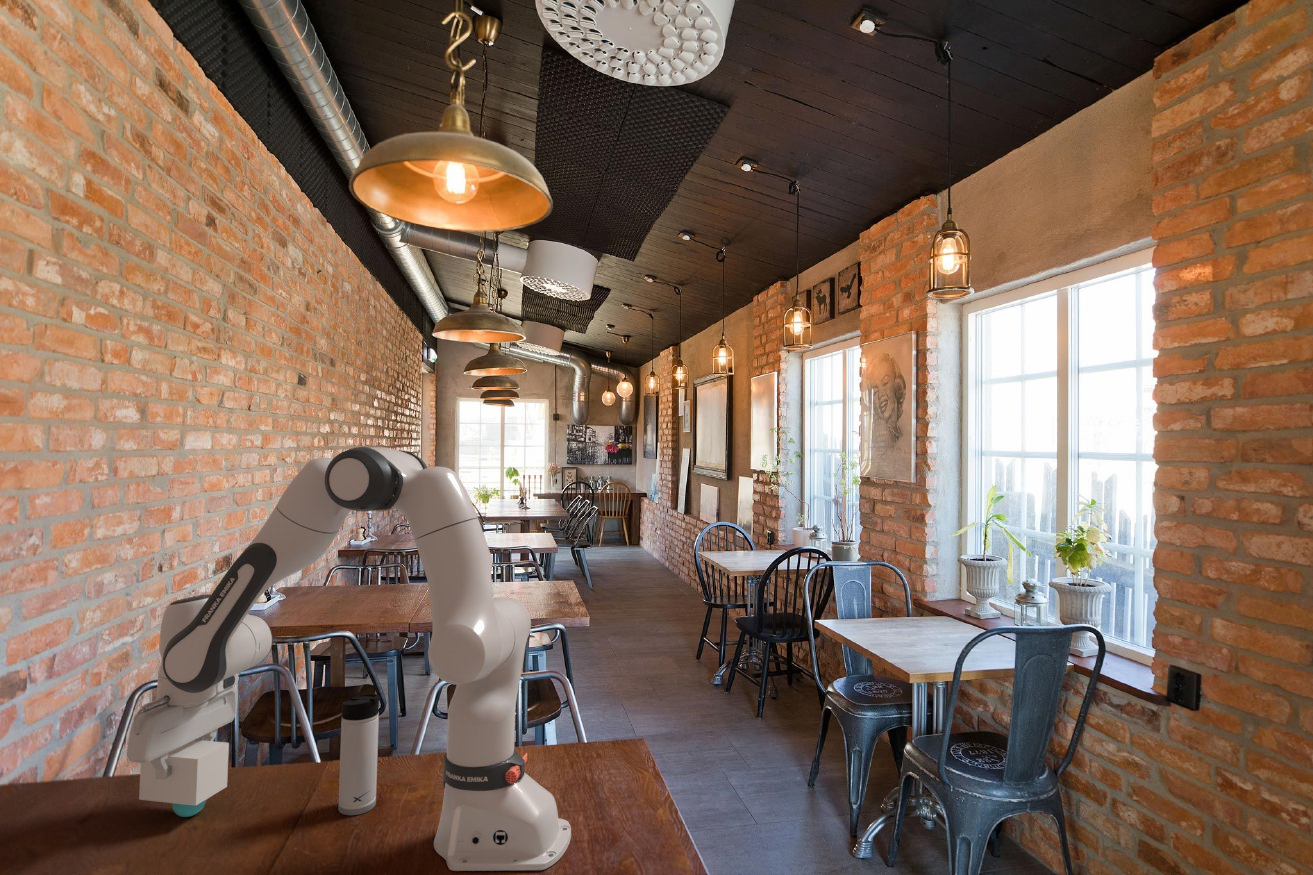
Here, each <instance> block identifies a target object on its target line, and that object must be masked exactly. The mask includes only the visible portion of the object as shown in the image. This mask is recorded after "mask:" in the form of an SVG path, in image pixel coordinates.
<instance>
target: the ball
mask: <svg viewBox="0 0 1313 875" xmlns="http://www.w3.org/2000/svg"><path fill="white" fill-rule="evenodd" d="M207 800H208V799H206V800H204V801H203V802H201V803H199V804H198V805H196V806H194V805H185V804H176V803H172V809H173V812H174V814H176V815H177V816H179V817H182V818H188V817H189V818H190V817H192V816H195V815H196V814H198V813H199V812H200V811H201V810H202V809H203V808H204V806H205V805H206V803H207Z"/></svg>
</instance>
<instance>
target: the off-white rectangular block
mask: <svg viewBox="0 0 1313 875" xmlns="http://www.w3.org/2000/svg"><path fill="white" fill-rule="evenodd" d="M229 748H230V742H226V741H223V742H222V741H214V740H213V741H203V740H201V739H195V740H193V741H191V742H189V743H187V744H185V745H183V746H181V747H179V748H177V749H175V750H173V751H171V752H169V753H168V758H167V759H165V762H166V764H167V766H168V765H170V766H172V770H171V772H172V774H171V776H169V777H167V778H165V779H163V780H161V779H156V777H155V775H156V769H155V768H154V766H153V765H152V763H151V762H148V763H140V770H139V771H140V772H139V791H138V792H139V795H138V796H139V797H138V800H140V801H141V800H142V801H150V802H160V803H167V804H169V803H170V804H173V803H176V804H185V805H194V806H196V805H198V804H199V803H201V802H203V801H204V800H206V799H207V800H208V799H210V798H211V797H213V796H214V795H216V794H217V793H219V792H221V791H222V790H224V789H226V788H227V787H228V775H229V774H228V771H229V770H228V769H229V753H230V752H229ZM207 800H206V801H207Z"/></svg>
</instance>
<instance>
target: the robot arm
mask: <svg viewBox="0 0 1313 875" xmlns="http://www.w3.org/2000/svg"><path fill="white" fill-rule="evenodd" d="M392 510H397V511H399V512H401V514H402V515H404V517H405V519H406V521H407V523H408V526H409V528H410V531H411V534H412V537H413V540H414V543H415V545H416V549H417V551H418V556H419V558H420V561H421V564H422V567H423V571H424V574H425V577H426V579H427V580H426V581H427V585H428V590H429V597H430V606H431V607H430V608H431V617H432V618H431V620H432V621H431V622H432V623H431V624H432V633H431V638H430V640H429V641H430V642H429V645H428V650H427V657H428V663H429V666H430V668H431V669H432V671H433V673H434V675H436V676H437V677H438V678H439V679H440V680H441V681H443V682H445V683H447V684H451V685H454V686H455V685H456V686H455V689H454V693H453V694H452V698H451V699H450V702H449V706H448V709H447V729H446V731H447V732H446V733H447V734H446V753H445V754H444V757H443V766H442V787H443V789H444V791H443V792H444V793H443V799H442V800H443V801H442V807H441V812H440V818H439V823H438V825H437V826H438V827H437V831H436V834H435V836H434V840H433V848H434V850H435V851H436V853H437V854H438V855H439V856H440V857H442V858H443V859H444V860H445V861H446V865H447V867H448V869H449V870H450V871H454V872H460V871H461V872H463V871H464V872H465V871H468V872H469V871H470V872H471V871H472V872H474V871H475V872H476V871H479V872H480V871H481V872H482V871H483V872H486V871H491V872H493V871H497V872H498V871H543V870H547V869H549V868H550V867H552V866H553V865H554V864H556V863H557V862H558V861H559V860H560V859H561V858H562V857H563V855H564V854H565V852H566V851H567V849H568V847H569V845H570V842H571V838H572V828H571V824H570V822H569V821H568V820H566V819H563V818H561V817H559V814H558V806H557V803H556V799H555V796H554V795H553V794H552V793H551V792H550V791H548V789H546V788H544V787H543V786H542V785H540V784H539V783H538V782H537V781H536V780H535V779H533V778H532V777H531V776H529V775H528V773H526V772H525V770H526V769H525V768H526V763H527V761H528V752H526V753H524V755H523V756H521V754H520V753H519V752H518V751H517V749H516V748H515V732H516V709H517V707H516V706H517V698H518V691H519V686H520V681H521V677H522V671H523V666H524V659H525V652H526V646H527V642H528V638H529V635H530V632H531V628H532V620H531V614H530V613H529V611H528V609H527V607H526V606H525V605H524V604H523V602H521V601H519V600H517V599H515V598H512V597H505V596H502V597H501V596H500V597H499V596H498V597H494V592H493V584H492V582H493V581H492V569H493V565H494V564H493V562H494V561H493V557H492V554H491V552H490V548H489V545H488V542H487V538H486V537H485V534H484V532H483V528H482V524H481V523H480V520H479V517H478V514H477V512H476V508H475V507H474V504H473V502H472V500H471V497H470V495H469V493H468V491H467V489H466V488H465V486H464V483H462V481H461V479H460V477H459V475H458V474H457V473H456V472H455V471H454V470H452V468H449V467H446V466H430V467H428V466H427V464H426V463H425V462H424V460H423V459H422V458H420V456H418V455H416V454H414V453H412V452H410V451H407V450H401V449H400V450H398V449H393V448H390V447H385V446H383V447H382V446H371V447H368V446H357V447H352V448H349V449H346V450H343V451H342V452H340V453H338V454H337V455H335V456H334V458H333V457H332V458H331V457H317V458H313V459H312V460H310V461H308V462H307V463H306V464H305V465H304V466H303V467H302V468H301V470H299V472H298V473H297V475H295V477H294V478H293V479H292V480H291V482H290V484H289V485H288V486H287V488H286V489H285V490H284V492H283V494H282V495H281V496H280V499H279V500H278V502H277V503H276V505H275V507H274V508H273V510H272V512H271V513H270V515H269V516H268V518H267V519H266V521H265V522H264V524H263V526H262V527H261V528H260V530H259V531H258V532H257V534H256V535H255V537H254V538H253V539H252V540H251V542H250V543H249V544H248V546H247V547H246V548H245V549H244V550H243V551H242V553H240V555H239V556H238V557H237V558H236V560H235V561H234V562H233V563H232V565H231V566H230V567H229V569H228V570H227V571H226V573H225V574H224V576H223V577H222V579H220V582H219V583H218V584H217V586H216V587H215V589H214V590H213V591H212V592H211V594H201V595H195V596H190V597H183V598H181V599H177V600H174V601H172V602H171V603H170V604H168V605H167V606H166V607H165V610H164V612H163V615H162V620H161V624H160V633H159V646H158V647H159V648H158V650H159V653H160V658H161V662H160V665H159V668H158V672H157V685H156V686H157V687H156V700H153V701H151V702H147V703H145V704H143V705H142V706H141V708H140V709H138V711H137V713H136V714H134V716H133V722H132V724H131V725H130V726H131V727H130V730H129V736H128V741H127V748H126V757H127V759H128V761H130V762H131V763H139V764H141V763H148V762H151V763H152V765H153V766H154V768H155V769H156V775H155V777H156V779H161V780H163V779H165V778H167V777H169V776H171V774H172V772H171V770H172V766H170V765H168V766H167V764H166V762H165V759H167V758H168V753H169V752H171V751H173V750H175V749H177V748H179V747H181V746H183V745H185V744H187V743H189V742H191V741H193V740H198V739H199V738H201V739H200V740H203V741H214V740H215V738H216V736H217V730H218V729H219V728H222V727H223V726H226V725H227V724H230V723H232V722H233V721H234V719H235V717H236V715H237V710H238V689H237V687H236V685H238V682H239V674H240V673H242V672H243V671H246V670H248V669H251V668H253V667H255V666H257V665H258V664H260V663H262V662H263V661H264V660H266V658H268V656H269V655H270V653H271V651H272V646H273V641H274V640H273V637H274V636H273V632H272V629H271V627H270V625H269V624H268V622H267V621H266V620H265V619H263V618H262V617H260V616H259V615H256V614H249V612H250V611H251V609H252V608H253V606H254V605H255V603H256V602H257V601H258V599H259V598H261V596H262V595H263V594H264V593H265V592H266V591H268V590H269V589H270V588H271V587H272V586H274V585H276V584H277V583H278V582H280V581H281V580H284V579H286V578H287V577H289V576H291V575H293V574H295V573H296V572H299V571H301V570H304V569H305V568H307V567H309V566H311V565H312V564H314V563H315V562H317V561H318V560H319V558H321V557H322V556H323V554H324V553H325V552H326V551H327V549H329V547H330V546H331V544H332V543H333V542H334V541H335V539H336V537H337V534H338V533H339V532H340V529H341V527H342V526H343V523H345V520H346V518H347V517H348V516H349V513H351V511H355V512H363V513H365V512H372V511H373V512H376V511H377V512H388V511H392Z"/></svg>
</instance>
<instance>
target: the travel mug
mask: <svg viewBox="0 0 1313 875" xmlns="http://www.w3.org/2000/svg"><path fill="white" fill-rule="evenodd" d="M380 701H381V695H379V694H377V693H366V694H361V695H356V696H352V697H350V698H349V699H348V700H345V701H343V702H342V703H341V704H342V705H341V706H342V707H341V711H342V712H341V724H340V726H341V727H340V747H339V748H340V752H339V753H340V754H339V756H340V757H339V780H338V782H339V783H338V811H339V813H340V814H342V815H345V816H358V815H359V816H360V815H363V814H365V813H368V812H370V811H371V810H373V809H374V808H375V807H376V805H377V803H376V802H377V785H378V784H377V779H378V778H377V777H378V755H379V754H378V748H379V719H380V718H379V716H380V713H379V710H380V709H379V706H380Z"/></svg>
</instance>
